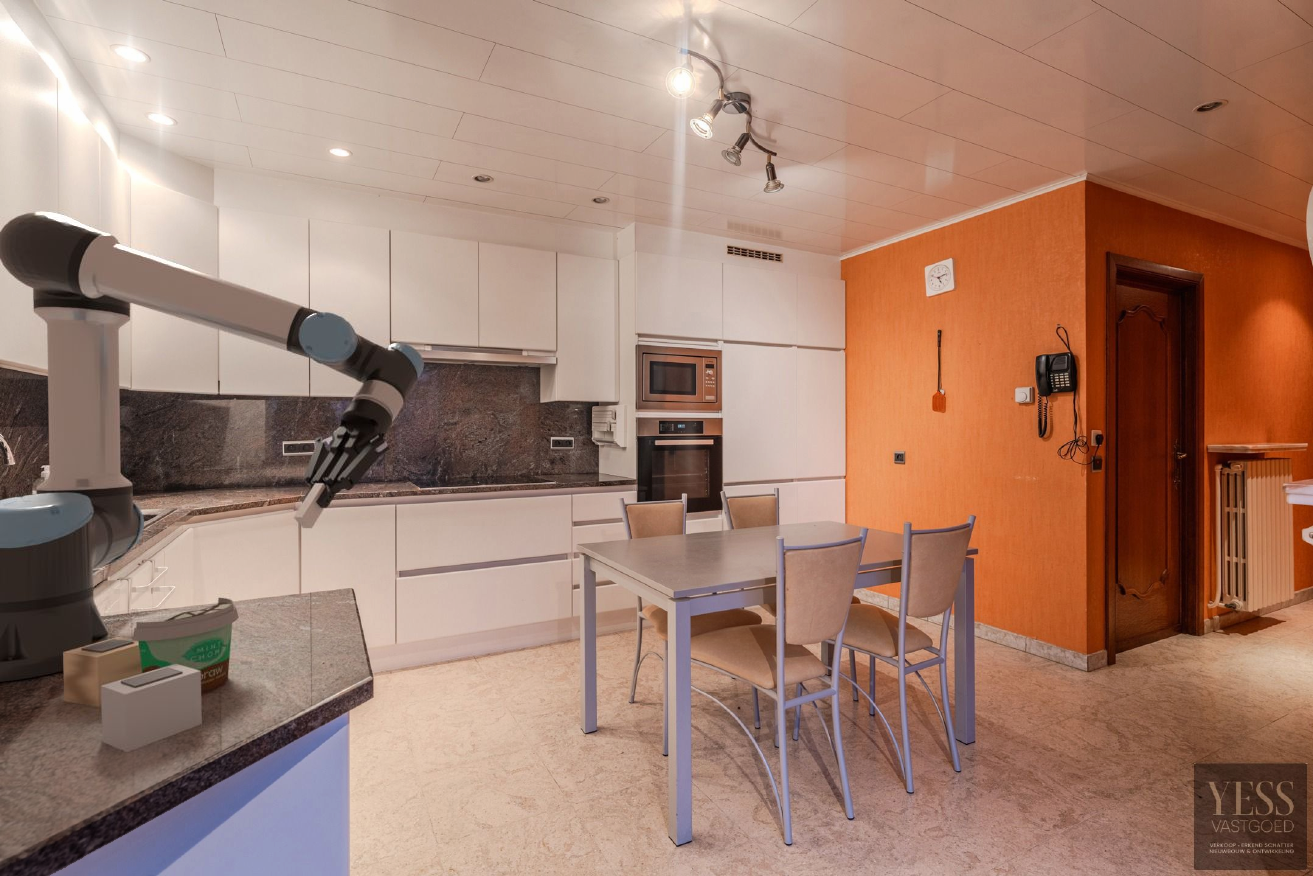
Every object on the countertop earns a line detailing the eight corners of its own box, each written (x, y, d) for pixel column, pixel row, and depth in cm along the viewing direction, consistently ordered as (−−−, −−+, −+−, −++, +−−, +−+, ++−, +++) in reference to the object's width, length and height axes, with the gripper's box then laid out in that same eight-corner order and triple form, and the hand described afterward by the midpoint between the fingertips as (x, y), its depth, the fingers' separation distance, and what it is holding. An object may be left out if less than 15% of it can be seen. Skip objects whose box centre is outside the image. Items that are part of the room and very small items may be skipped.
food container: (177, 712, 74) (175, 626, 74) (133, 708, 76) (131, 623, 76) (262, 672, 87) (261, 598, 86) (223, 669, 88) (222, 596, 88)
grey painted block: (102, 742, 67) (100, 683, 67) (177, 715, 74) (176, 661, 74) (126, 753, 65) (125, 692, 65) (201, 724, 71) (200, 669, 71)
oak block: (64, 701, 78) (63, 650, 78) (118, 682, 84) (117, 635, 84) (98, 707, 76) (97, 655, 76) (151, 687, 82) (150, 639, 82)
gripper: (414, 427, 113) (353, 538, 97) (349, 428, 116) (279, 536, 100) (396, 395, 108) (327, 507, 92) (328, 397, 111) (250, 506, 94)
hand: (302, 522), depth 96 cm, fingers closed
